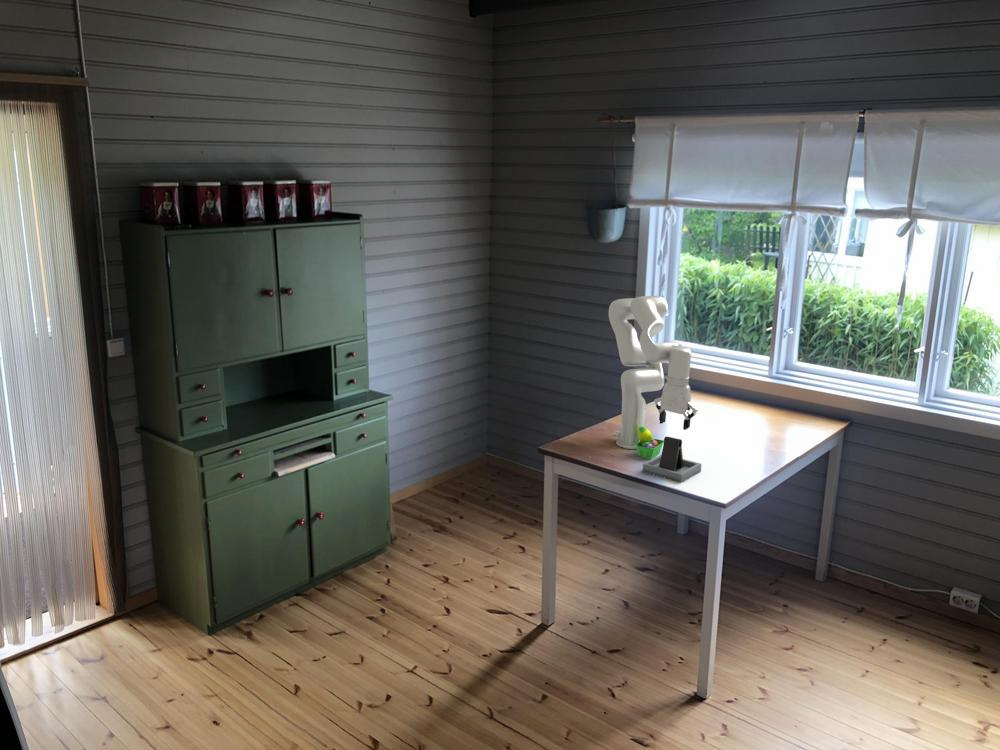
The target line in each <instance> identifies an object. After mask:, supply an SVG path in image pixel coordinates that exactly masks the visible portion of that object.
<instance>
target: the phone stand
mask: <svg viewBox="0 0 1000 750" xmlns="http://www.w3.org/2000/svg"><path fill="white" fill-rule="evenodd" d="M663 441H664V442H663V444H662V451H661V454H660V455H661V459H660V464H659V467H660V468H664V469H668V470H671V471H675V472H677V471H679V470H680V469H682V468H683V467H684V466H683V459H684V458H683V448H682V447H683V440H682V439H680V438H676V437H672V436H664V439H663Z"/></svg>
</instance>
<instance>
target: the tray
mask: <svg viewBox="0 0 1000 750" xmlns="http://www.w3.org/2000/svg"><path fill="white" fill-rule="evenodd" d="M660 459H661V454H660V455H658V456H655V457H653V458H652V459H649V461H646V462H644V463H643V464H642V472H643V471H644V472H643V473H646V472H647V473H646V474H649V473H651V474H650V475H653V474H655V475H654V476H656V475H658V476H657V477H660V476H661V478H663V477H665V478H664V479H667V480H670V479H671V480H670V481H674V482H678V483H683V482H685V481H687V480H688V479H690V478H692V477H693V476H695V475H698V474H699V473H701V472H702V463H700V462H697V461H692V460H689V459H685V458H683V466H684V467H683V468H682V469H680V470H679V471H677V472H675V471H671V470H668V469H664V468H660V467H659V464H660Z"/></svg>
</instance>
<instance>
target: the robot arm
mask: <svg viewBox="0 0 1000 750" xmlns="http://www.w3.org/2000/svg"><path fill="white" fill-rule="evenodd" d="M668 308H669V306H668V303H667V301H666V299H665V298H664V297H663V296H660V295H643V296H637V297H634V298H633V297H629V298H619V299H616V300H613V301H612V302H610V304H609V308H608V319H609V324H610V325H611V328H612V330H613V333H614V334H615V339H616V344H617V349H618V350H617V351H618V354H619V358H620V359H619V360H620V363H621V364H622V365H623V366H624V367H639V366H641V367H640V368H630V369H627V370H625V371H623V373H622V374H621V376H620V387H621V396H622V397H621V398H622V399H621V420H620V430H617V429H614V430H613V432H612V436H613V437H617V439H616V442H615V443H616V445H617V446H618V447H620V448H622V447H623V449H627V450H637V447H636V444H638V443H639V442H640V440H639V438H638V434H639V433H638V430H639V428H640V427H641V426H644V427H645V425H646V409H647V408H646V407H647V403H646V400H645V398H644V397H643V395H642V393H648V392H657V391H660V390H662V392H661V396H660V397H657V398H655V399H653V402H654V404H655V408H656V409H657V410H658V413H659V417H658V420H659V424H664V423H666V419H667V418H666V417H667V412H669V413H674V414H679V415H683V416H684V420H683V428H682V429H683V430H684V431H686V430H688V429H689V428H690V426H691V419H692V418H693V417H695V416H696V414H697V413H698V411H699V408H697V407H696V406H695V405H694V404H693V403H692V401H691V400H692V397H691V396H692V394H691V392H692V391H691V386H690V385H689V381H690V371H691V361H692V359H691V358H692V350H691V349H690V348H689V347H685V346H684V345H683V344H682V343H681V342H679V341H666V342H665V341H664V342H662V341H661V342H654V341H653V339H652V338H653V337H654V336H656V335H658V334H659V333H660V332H661V331H662V330H663V328H664V326H665V323H664V320H663V317H665V316H666V315H667V313H668ZM628 320H635V321H636V323H638V326H639V327H640V329H641V333H640V335H639V338H638V333H637V329H635V327H634V326H633V324H631V323H630V322H629V321H628ZM666 363H668V368H667V375H666V374H665V375H664V370H663V364H666ZM642 366H645V367H643V368H642ZM665 379H666V382H665ZM690 410H692V412H690Z"/></svg>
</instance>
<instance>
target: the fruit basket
mask: <svg viewBox="0 0 1000 750" xmlns="http://www.w3.org/2000/svg"><path fill="white" fill-rule="evenodd" d="M638 433H639V434H638V438H639V440H640V442H639V443H638V444H636V447H637V449H636V450H637V454H638V457H639V456H640V457H639V458H642V457H644V458H643V459H646V458H649V459H648V460H652V459H654V458H656V457H657V455H659V454H660V452H661V449H662V448H663V445H664V439H658V438H653V433H652V432H651V431H650V430H649V429H648V428H647V427H644V426H641V427H640V428H639V430H638Z"/></svg>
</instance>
